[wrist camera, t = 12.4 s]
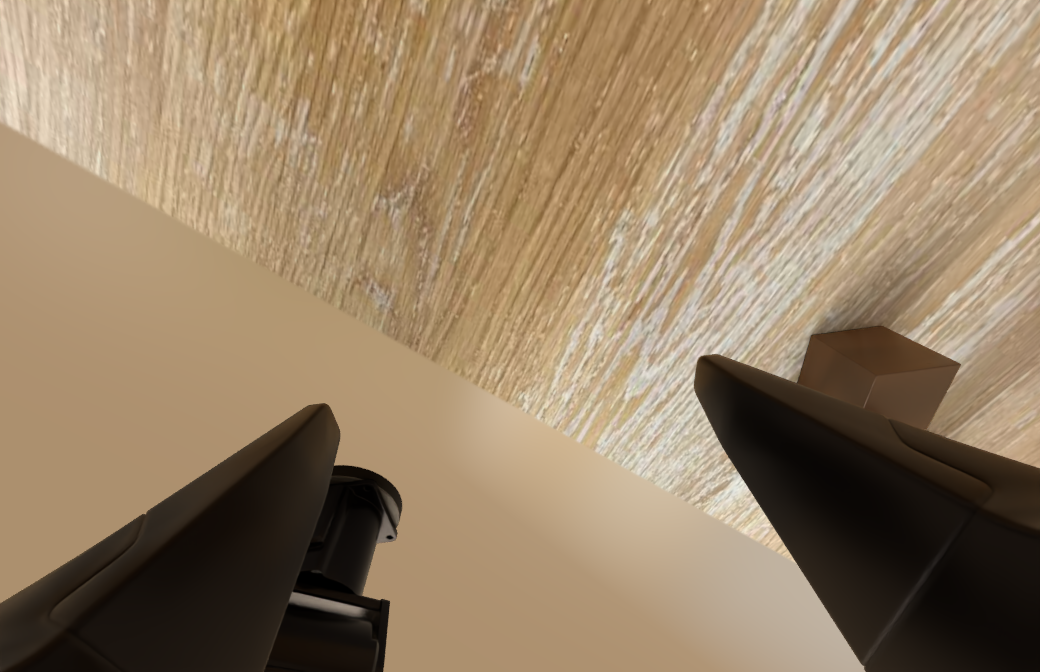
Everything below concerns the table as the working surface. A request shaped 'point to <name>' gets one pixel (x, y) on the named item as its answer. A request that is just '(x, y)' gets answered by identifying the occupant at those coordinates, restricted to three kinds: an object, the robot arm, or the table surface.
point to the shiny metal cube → (879, 373)
